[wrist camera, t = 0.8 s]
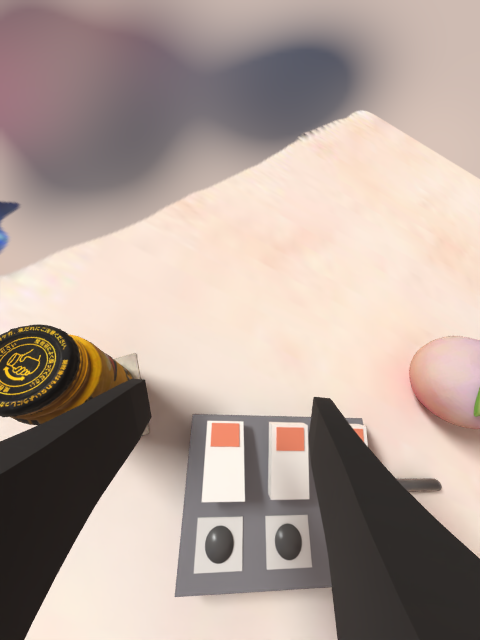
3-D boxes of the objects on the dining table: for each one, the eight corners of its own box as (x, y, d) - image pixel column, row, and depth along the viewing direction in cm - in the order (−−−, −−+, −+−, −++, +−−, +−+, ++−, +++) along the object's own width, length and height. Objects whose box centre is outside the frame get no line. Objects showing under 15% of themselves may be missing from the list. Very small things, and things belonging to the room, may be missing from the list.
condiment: (136, 353, 25) (84, 299, 15) (149, 433, 22) (97, 439, 12) (62, 373, 24) (-60, 328, 13) (65, 463, 20) (-90, 504, 10)
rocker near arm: (242, 501, 18) (245, 501, 17) (201, 501, 17) (201, 502, 16) (241, 424, 21) (243, 421, 20) (207, 423, 21) (207, 420, 20)
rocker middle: (304, 492, 19) (309, 499, 18) (268, 493, 19) (271, 500, 18) (303, 422, 21) (308, 425, 20) (269, 421, 20) (272, 424, 19)
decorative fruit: (396, 338, 31) (475, 302, 22) (454, 373, 30) (562, 350, 21) (376, 399, 27) (462, 385, 18) (442, 442, 26) (568, 450, 17)
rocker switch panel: (457, 561, 21) (489, 578, 19) (178, 576, 18) (174, 598, 16) (416, 420, 26) (438, 420, 24) (194, 415, 23) (192, 414, 21)
